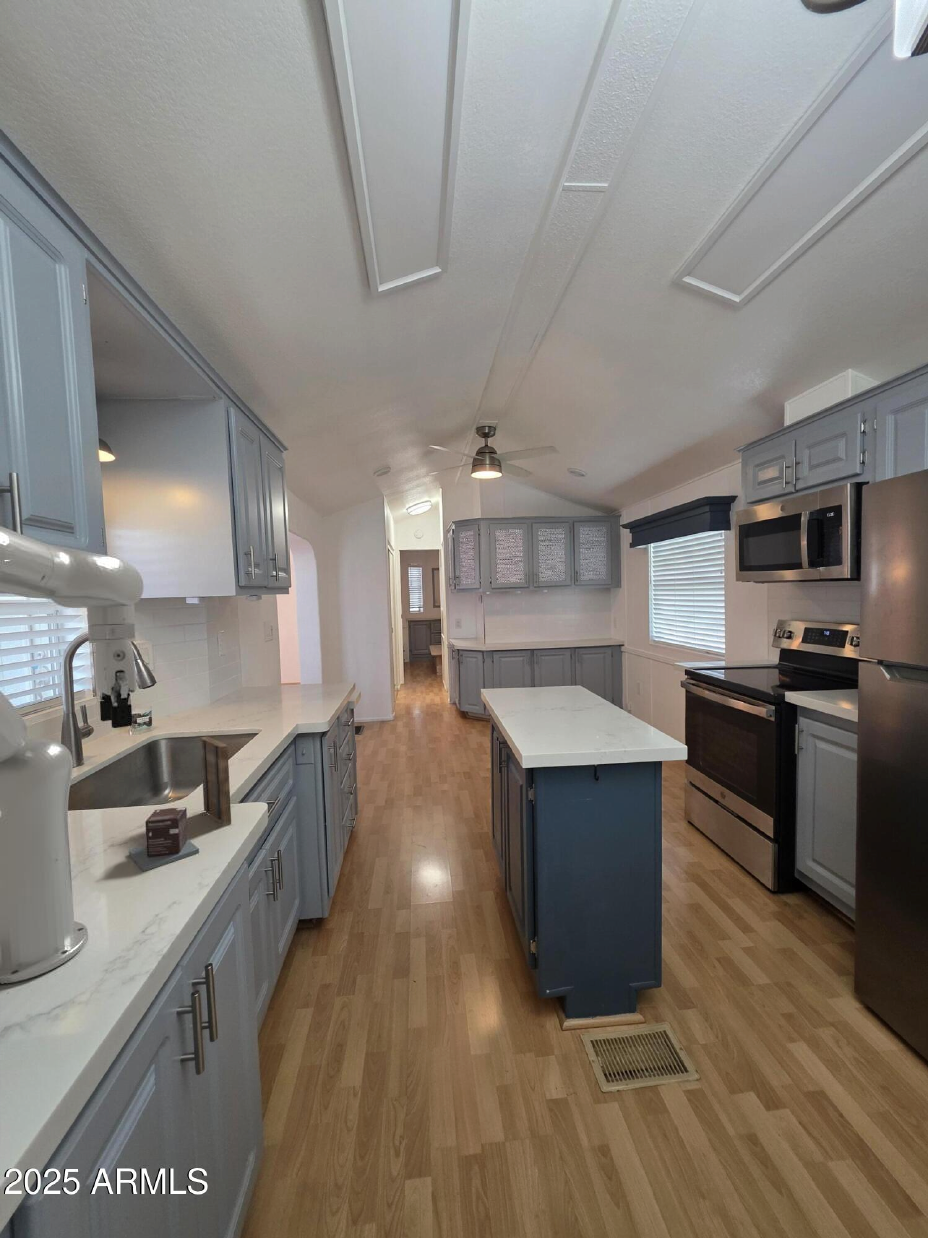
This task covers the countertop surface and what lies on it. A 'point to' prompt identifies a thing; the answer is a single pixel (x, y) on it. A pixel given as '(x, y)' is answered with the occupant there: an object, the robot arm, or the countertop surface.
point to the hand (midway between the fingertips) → (116, 723)
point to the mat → (152, 862)
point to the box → (166, 831)
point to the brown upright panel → (216, 780)
